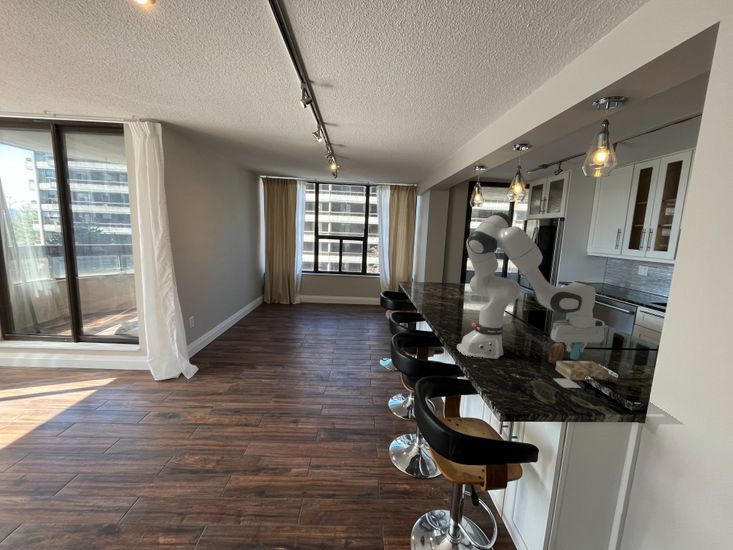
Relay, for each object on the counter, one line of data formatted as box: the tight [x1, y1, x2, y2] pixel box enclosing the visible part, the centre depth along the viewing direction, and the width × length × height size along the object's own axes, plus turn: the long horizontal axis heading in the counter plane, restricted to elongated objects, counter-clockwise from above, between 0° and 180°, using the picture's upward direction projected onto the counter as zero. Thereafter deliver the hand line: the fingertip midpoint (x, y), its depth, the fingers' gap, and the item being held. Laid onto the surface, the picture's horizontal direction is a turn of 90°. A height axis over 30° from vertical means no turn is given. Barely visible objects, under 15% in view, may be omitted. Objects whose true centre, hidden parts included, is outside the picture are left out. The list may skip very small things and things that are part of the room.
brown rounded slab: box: [547, 342, 566, 365], centre depth 143 cm, size 15×3×8 cm, turn 130°
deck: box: [553, 378, 582, 389], centre depth 121 cm, size 7×7×1 cm
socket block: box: [555, 360, 610, 381], centre depth 128 cm, size 16×9×5 cm, turn 91°
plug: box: [569, 342, 581, 361], centre depth 126 cm, size 3×3×8 cm
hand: (574, 351), depth 126 cm, fingers closed on plug, 3 cm apart
